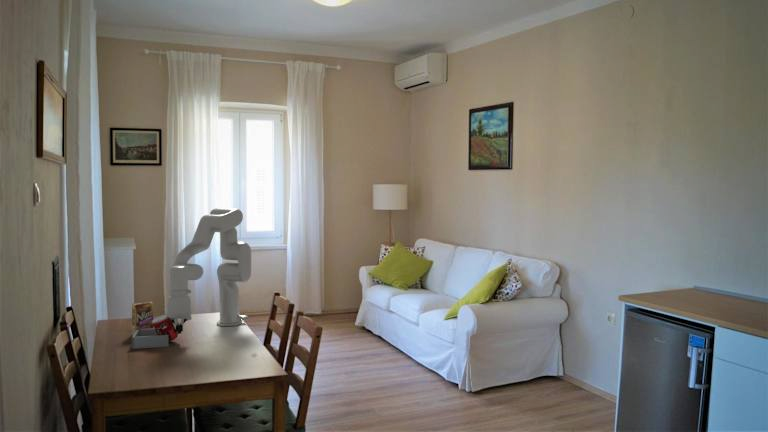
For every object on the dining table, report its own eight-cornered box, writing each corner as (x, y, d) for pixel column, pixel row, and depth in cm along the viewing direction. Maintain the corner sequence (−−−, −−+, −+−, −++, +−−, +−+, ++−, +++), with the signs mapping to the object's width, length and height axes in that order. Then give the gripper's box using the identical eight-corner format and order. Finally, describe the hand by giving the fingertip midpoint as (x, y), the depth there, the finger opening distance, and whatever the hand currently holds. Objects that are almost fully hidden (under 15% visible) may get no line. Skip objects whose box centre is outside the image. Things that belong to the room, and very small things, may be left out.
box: (171, 338, 274) (171, 327, 274) (168, 346, 260) (168, 335, 260) (137, 340, 271) (137, 329, 270) (131, 348, 256) (131, 337, 256)
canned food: (157, 344, 265) (148, 323, 262) (169, 335, 272) (160, 314, 269) (170, 343, 262) (160, 321, 259) (181, 334, 269) (172, 312, 266)
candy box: (135, 337, 276) (134, 304, 276) (131, 335, 279) (130, 303, 279) (154, 333, 282) (153, 302, 282) (150, 332, 286) (149, 300, 285)
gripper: (196, 291, 272) (196, 330, 273) (162, 292, 268) (162, 332, 269) (195, 293, 265) (196, 334, 265) (160, 295, 261) (161, 336, 261)
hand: (179, 333), depth 267 cm, fingers closed
